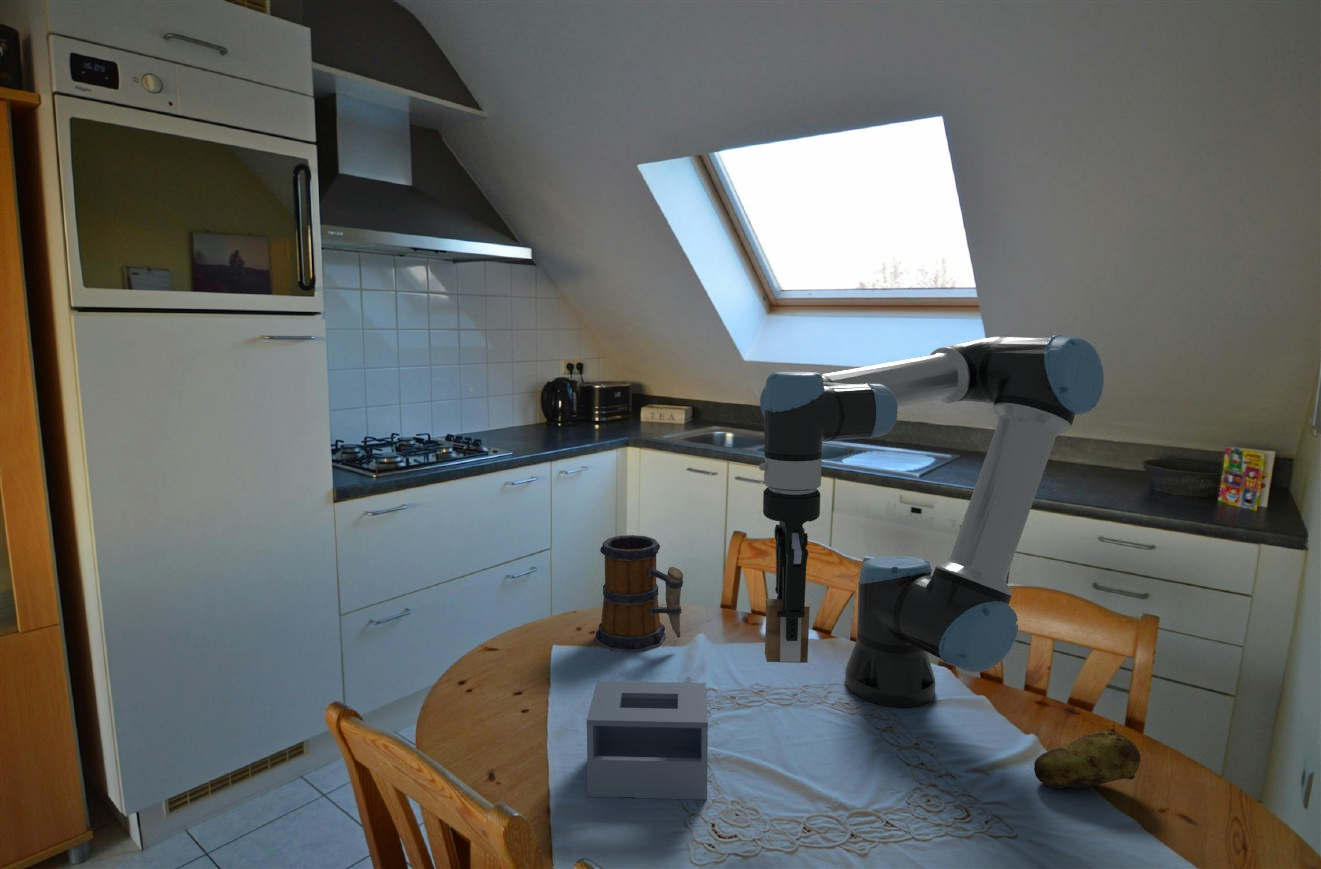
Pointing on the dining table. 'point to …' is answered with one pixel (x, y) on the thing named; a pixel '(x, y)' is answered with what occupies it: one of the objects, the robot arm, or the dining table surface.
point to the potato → (1089, 761)
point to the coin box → (648, 740)
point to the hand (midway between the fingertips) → (788, 654)
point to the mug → (636, 595)
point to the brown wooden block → (774, 631)
